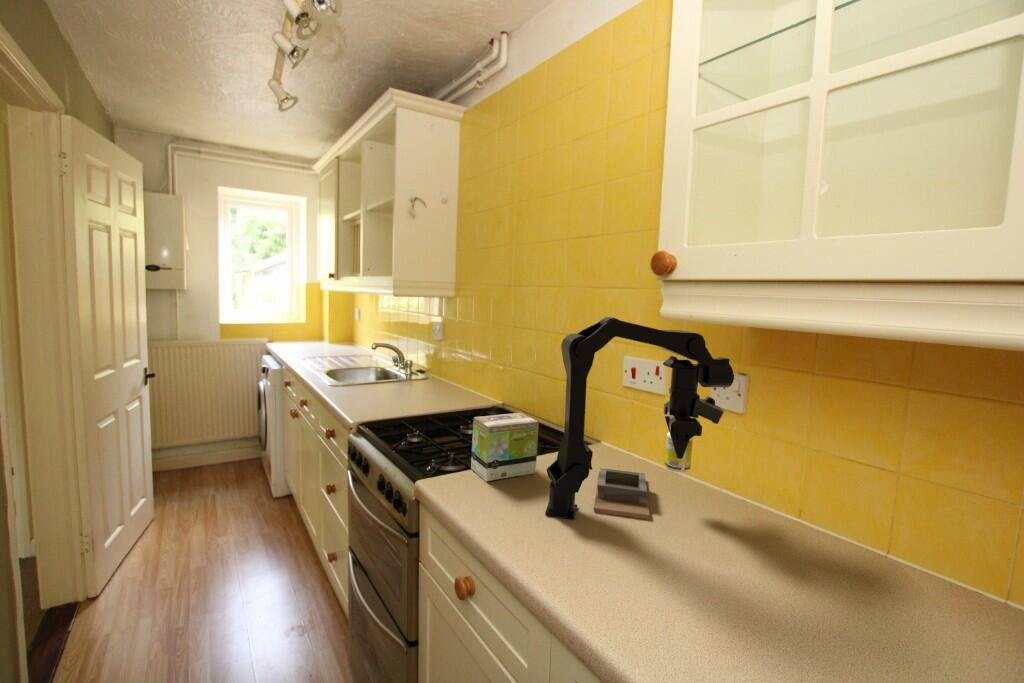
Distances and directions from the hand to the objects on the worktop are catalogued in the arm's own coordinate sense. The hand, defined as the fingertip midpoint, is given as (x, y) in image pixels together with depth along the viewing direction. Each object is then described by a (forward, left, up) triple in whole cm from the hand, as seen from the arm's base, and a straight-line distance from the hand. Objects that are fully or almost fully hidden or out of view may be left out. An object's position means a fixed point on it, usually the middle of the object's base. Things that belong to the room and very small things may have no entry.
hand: (678, 453), depth 107 cm
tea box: (+8, +43, -13) cm, 46 cm away
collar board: (+3, +12, -13) cm, 18 cm away
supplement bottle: (0, 0, -4) cm, 4 cm away
